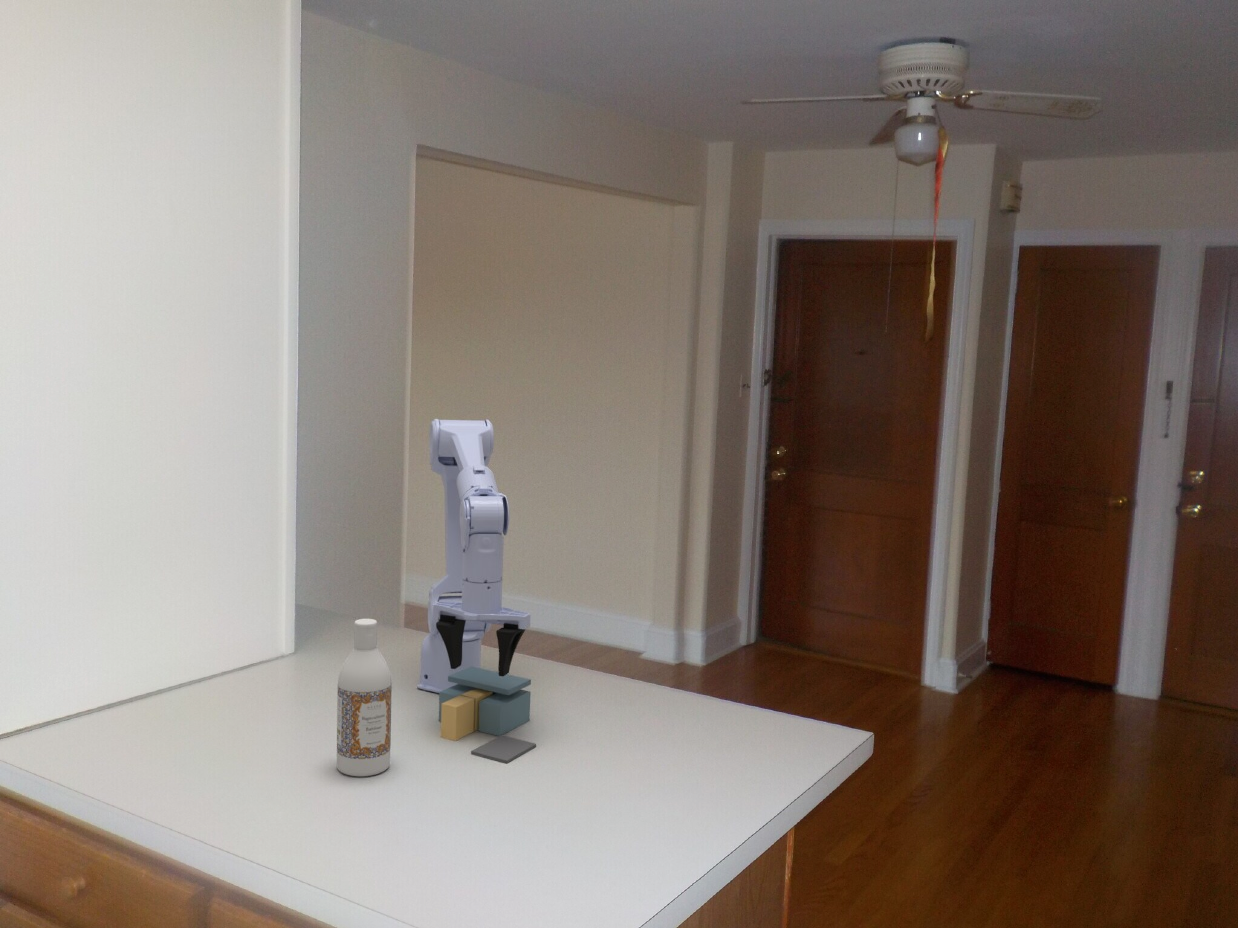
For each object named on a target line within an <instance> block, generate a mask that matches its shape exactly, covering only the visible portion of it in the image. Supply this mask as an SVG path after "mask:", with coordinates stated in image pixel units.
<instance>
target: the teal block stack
mask: <svg viewBox="0 0 1238 928" xmlns="http://www.w3.org/2000/svg"><path fill="white" fill-rule="evenodd" d="M448 681H449V682H453V683H457V684H456V685H454V686H452V687H450V688H447V689H445V690H443V691H440V692H439V693H438V694H439V696H438V697H439V699H438V721H439V722H441V706H442V703H444V702H446V701H448V700H451V699H453V698H455V697H457V696H459V695H462V694H464V693H466V692H468V691H471V690H473V689H475V688H479V689H483V690H488V691H492V696H490V697H488V698H486V699H484V700H481V701H480V702H479V729H478V732H481V733H485V734H489V735H493V736H496V737H498V736H500V735H503V736H504V735H505V734H507V733H508V732H510V731H512V730H514V729H516V728H518V727H519V726H522V725H523V724H525V723H528V722H529V721H530V718H531V717H530V716H531V714H530V713H531V691H528V690H525V689H524V688H526V687H529V686H530V685H531V682H532V679H531V678H526V677H521V676H516V675H512V674H510V673H508V674H506V675H505V676H499V672H498V671H495V670H489V669H485V668H482V667H481V668H477V667H472V666H471V667H469V668H466V669H464V670H461V671H459V672H457V673H454V674H452V675H449V676H448Z"/></svg>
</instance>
